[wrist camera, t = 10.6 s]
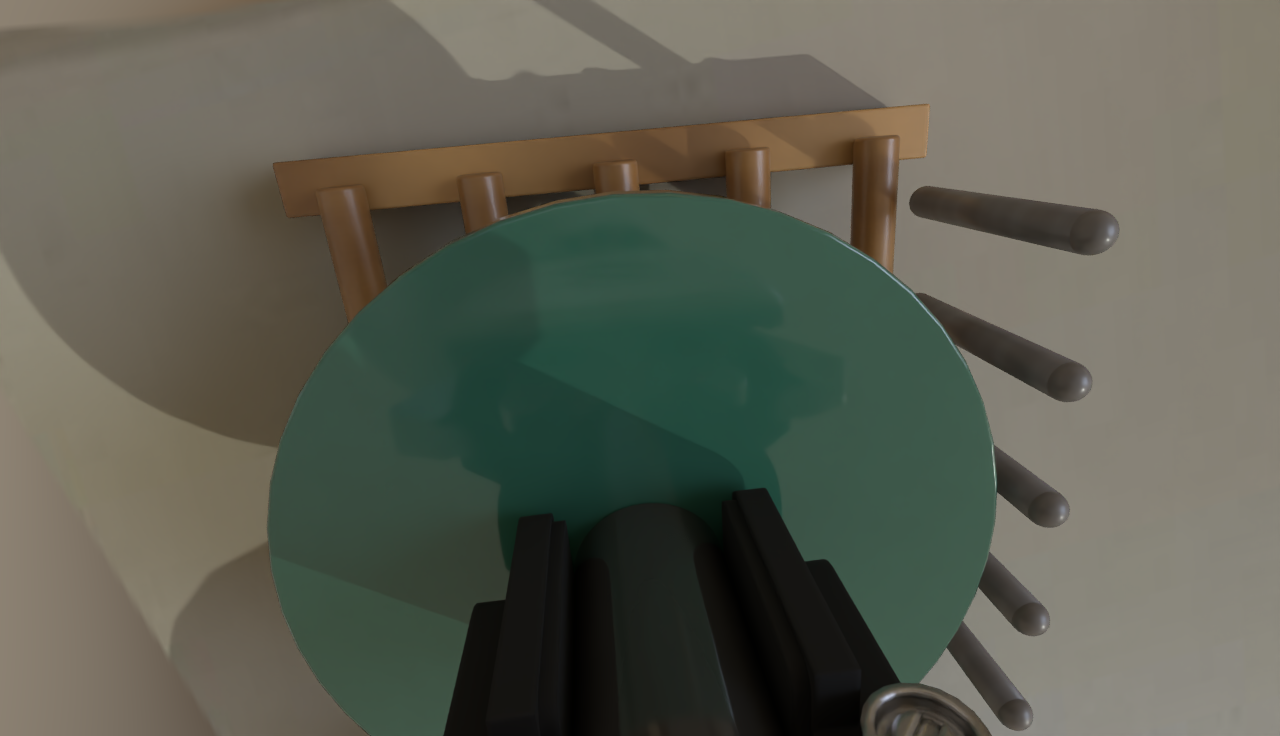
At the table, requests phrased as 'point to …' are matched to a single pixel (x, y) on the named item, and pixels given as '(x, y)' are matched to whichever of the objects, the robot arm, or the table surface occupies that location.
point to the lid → (626, 458)
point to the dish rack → (746, 163)
